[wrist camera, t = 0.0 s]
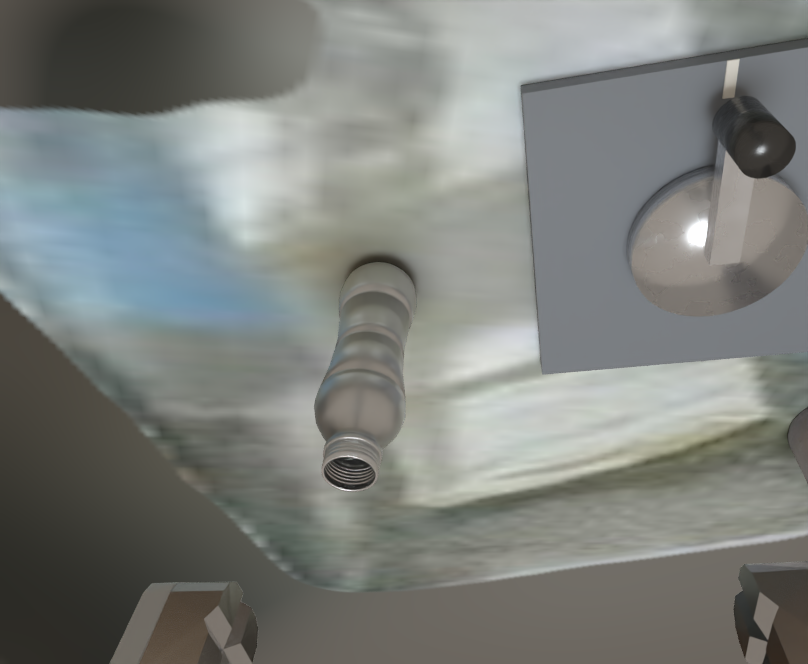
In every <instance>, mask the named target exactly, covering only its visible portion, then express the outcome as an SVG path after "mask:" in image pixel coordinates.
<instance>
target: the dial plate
mask: <svg viewBox="0 0 808 664" xmlns="http://www.w3.org/2000/svg"><path fill="white" fill-rule="evenodd" d="M521 95H522V109H523V123H524V137H525V151H526V164H527V178H528V192H529V206H530V219H531V233H532V247H533V261H534V275H535V288H536V302H537V316H538V330H539V344H540V357H541V367H542V374H554V373H566V372H578V371H589V370H601V369H613V368H624V367H636V366H648V365H659V364H671V363H683V362H694V361H706V360H718V359H729V358H741V357H753V356H764V355H776V354H788V353H800V352H808V245H807V248H806V251H805V253H804V255H803V257H802V259H801V261H800V262H799V264H798V265H797V267H796V268H795V270H794V271H793V272H792V273H791V275H790V276H789V277H788V278H787V279H786V280H785V281H784V282H783V283H782V284H781V285H780V286H779V287H777V288H776V289H775V290H774V291H772V292H771V293H770V294H768V295H766V296H765V297H763V298H762V299H760V300H758V301H756V302H754V303H753V304H751V305H748V306H746V307H743V308H741V309H738V310H735V311H732V312H729V313H724V314H720V315H713V316H702V317H694V316H684V315H678V314H674V313H670V312H668V311H665V310H663V309H661V308H659V307H657V306H655V305H654V304H652V303H651V302H650V301H649V300H647V299H646V297H645V296H644V295H643V294H642V293H641V291H640V290H639V288H638V287H637V284H636V282H635V280H634V277H633V274H632V271H631V268H630V265H629V262H628V257H627V243H628V237H629V233H630V230H631V227H632V225H633V223H634V221H635V219H636V217H637V216H638V214H639V212H640V211H641V210H642V208H643V207H644V206H645V204H646V203H647V202H648V201H649V200H650V199H651V198H652V197H653V196H654V195H655V194H656V193H657V192H659V191H660V190H661V189H662V188H663V187H665V186H666V185H668V184H669V183H671V182H672V181H674V180H676V179H678V178H680V177H681V176H683V175H685V174H688V173H690V172H693V171H695V170H698V169H701V168H705V167H708V166H713V165H715V163H716V155H717V148H718V139H717V137H716V136H715V135H714V132H713V129H712V123H713V119H714V116H715V114H716V113H717V111H718V110H719V108H720V107H721V106H722V105H724V104H725V103H726V102H728V101H729V100H731V99H733V98H736V97H740V96H751V97H754V98H756V99H758V100H759V101H760V102H761V103H762V104H763V105H764V106H765V107H766V108H767V110H768V111H769V112H770V113H771V114H772V115H773V116H774V117H775V118H776V119H777V120H778V121H779V122H780V123H781V124H782V125H783V126H784V127H785V128H786V129H787V130H788V131H789V133H790V134H791V135H792V136H793V137H794V139H795V142H796V150H795V154H794V156H793V158H792V160H791V161H790V163H789V164H788V165H787V166H786V167H785V168H784V169H783V170H781V171H780V172H778V173H777V174H776V175H777V176H779V177H780V178H782V179H783V180H784V181H785V182H786V183H787V184H788V186H789V187H790V188H791V189H792V190H793V192H794V193H795V194H796V195H797V196H798V198H799V199H800V200H801V202H802V203H803V205H804V206H805V209H806V211H807V214H808V38H807V39H801V40H795V41H789V42H783V43H777V44H771V45H765V46H759V47H753V48H747V49H741V50H735V51H729V52H722V53H716V54H710V55H704V56H698V57H692V58H686V59H680V60H674V61H668V62H662V63H656V64H650V65H644V66H637V67H631V68H625V69H619V70H613V71H607V72H601V73H595V74H589V75H583V76H577V77H571V78H565V79H559V80H552V81H546V82H540V83H534V84H528V85H522V86H521Z"/></svg>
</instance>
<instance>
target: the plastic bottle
mask: <svg viewBox="0 0 808 664" xmlns="http://www.w3.org/2000/svg"><path fill="white" fill-rule="evenodd" d="M416 307H417V299H416V293H415V288H414V285H413V282H412V280H411V279H410V277H409V276H408V275H407V274H406V273H405V272H404V271H403V270H401V269H400V268H398V267H396V266H395V265H392V264H389V263H385V262H373V263H368V264H365V265H362V266H360V267H358V268H357V269H355V270H354V271H353V272H352V273H351V274H350V275H349V277H348V278H347V280H346V282H345V283H344V285H343V287H342V290H341V292H340V298H339V316H340V322H339V331H338V340H337V343H336V347H335V350H334V353H333V356H332V360H331V363H330V366H329V368H328V370H327V373H326V375H325V377H324V379H323V382H322V384H321V386H320V388H319V391H318V393H317V396H316V399H315V404H314V410H315V418H316V424H317V426H318V429H319V431H320V432H321V434H322V436H323V438H324V439H325V441H326V444H325V447H324V452H323V457H324V459H323V464H322V476H323V478H324V479H325V481H326V482H327V483H328V484H330V485H331V486H333V487H335V488H337V489H340V490H343V491H351V492H355V491H362V490H366V489H368V488H370V487H372V486H373V485H374V484H375V482H376V481H377V478H378V474H379V466H380V464H381V461H382V450H383V449H384V448H385V447H386V446H387V445H388V444H389V443H390V442H392V441H393V440H394V439H395V438H396V436H397V435H398V433H399V431H400V429H401V427H402V425H403V423H404V420H405V411H406V410H405V409H406V401H405V390H404V378H403V365H404V349H405V344H406V340H407V335H408V331H409V328H410V326H411V324H412V321H413V318H414V315H415V311H416Z"/></svg>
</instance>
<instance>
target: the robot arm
mask: <svg viewBox="0 0 808 664" xmlns="http://www.w3.org/2000/svg"><path fill="white" fill-rule="evenodd" d="M738 579H739V581H740V584H741V587H742V589H743V591H741V592H740V593H739V594H737V595H736V596H735V601H734V609H733V610H734V619H735V628H736V632H737V636H738V640H739V644H740V646H741V649H742V652H743V655H744V658H745V660H746V661H747V662H748V663H749V664H808V561H804V562H785V563H762V564H744V565H743V566H742V567H741V568H740V573H739V577H738ZM242 595H243V592H242V590H241V588H240V587H239V585H238V583H237V582H199V583H198V582H196V583H181V582H178V583H153V584H151V585H150V586H149V587H148V588H147V589H146V591H144V593H143V595H142V597H141V599H140V601H139V603H138V605H137V607H136V609H135V611H134V613H133V616H132V618H131V620H130V622H129V624H128V626H127V628H126V630H125V632H124V635H123V637H122V639H121V641H120V643H119V645H118V647H117V649H116V651H115V654H114V656H113V658H112V660H111V662H110V664H253V660H254V656H255V652H256V648H257V639H258V626H257V620H256V616H255V614H254V612H253V610H252V608H251V607H249V606H248V605H246V604H244V603H243V602H241V598H242Z"/></svg>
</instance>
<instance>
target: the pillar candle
mask: <svg viewBox="0 0 808 664" xmlns="http://www.w3.org/2000/svg"><path fill="white" fill-rule="evenodd" d="M788 442H789V445H790V448H791V450H792V451H793V453H794V456H795V458H796V460H797V462H798V464H799V466H800V468H801V470H802V472H803V474H804V477H805V479H806V481H807V483H808V408H807V409H805V410H803V411H802V412H801V413H799V415H798V416H796V417H795V418H794V419H793V421H792V422H791V425H790V428H789V433H788Z"/></svg>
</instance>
